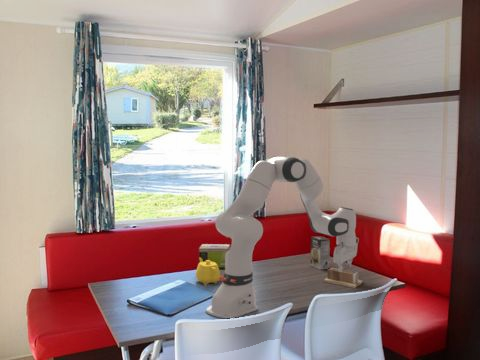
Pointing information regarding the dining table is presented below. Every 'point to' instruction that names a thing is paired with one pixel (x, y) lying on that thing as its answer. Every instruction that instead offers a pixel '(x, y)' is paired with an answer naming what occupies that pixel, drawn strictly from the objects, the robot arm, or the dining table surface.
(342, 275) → the walnut post
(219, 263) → the tea box
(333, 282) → the beige flat slab
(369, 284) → the dining table surface
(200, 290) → the dining table surface
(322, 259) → the coffee box
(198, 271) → the teapot
